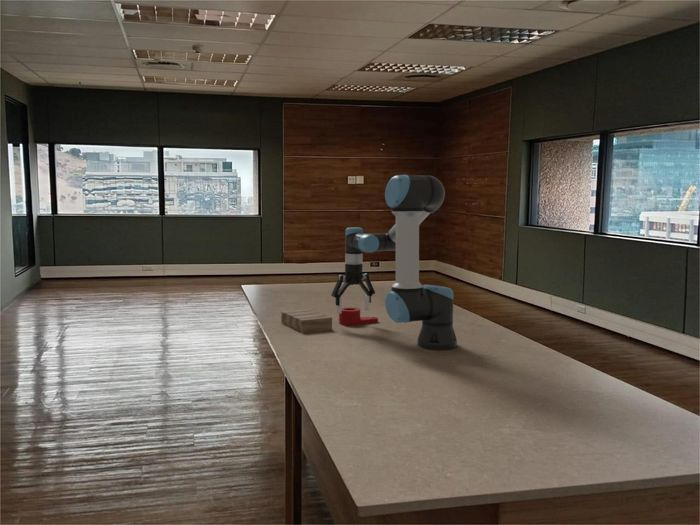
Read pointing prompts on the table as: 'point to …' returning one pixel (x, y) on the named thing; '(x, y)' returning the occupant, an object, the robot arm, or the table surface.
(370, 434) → the table surface
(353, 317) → the lever
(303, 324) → the walnut base brick
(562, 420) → the table surface
